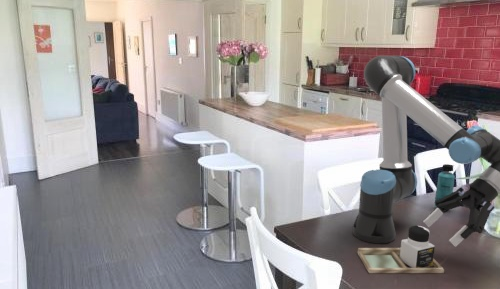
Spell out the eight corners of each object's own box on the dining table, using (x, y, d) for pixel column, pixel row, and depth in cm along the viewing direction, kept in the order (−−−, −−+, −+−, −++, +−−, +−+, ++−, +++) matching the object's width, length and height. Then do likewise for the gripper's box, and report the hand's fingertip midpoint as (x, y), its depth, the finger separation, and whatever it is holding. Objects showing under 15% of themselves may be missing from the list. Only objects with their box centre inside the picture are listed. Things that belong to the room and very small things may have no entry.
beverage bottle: (431, 206, 174) (437, 162, 169) (447, 207, 173) (453, 163, 169) (436, 212, 168) (442, 166, 163) (453, 213, 167) (459, 167, 162)
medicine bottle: (415, 270, 122) (419, 234, 120) (398, 259, 129) (402, 225, 126) (432, 266, 125) (437, 230, 123) (415, 255, 132) (419, 222, 129)
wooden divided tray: (368, 273, 121) (369, 267, 120) (357, 253, 133) (357, 247, 132) (443, 272, 121) (444, 267, 121) (425, 253, 133) (426, 247, 133)
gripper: (527, 208, 112) (472, 260, 113) (468, 180, 136) (423, 224, 137) (513, 191, 110) (457, 245, 111) (455, 166, 134) (410, 210, 135)
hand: (438, 233), depth 124 cm, fingers open, 13 cm apart
